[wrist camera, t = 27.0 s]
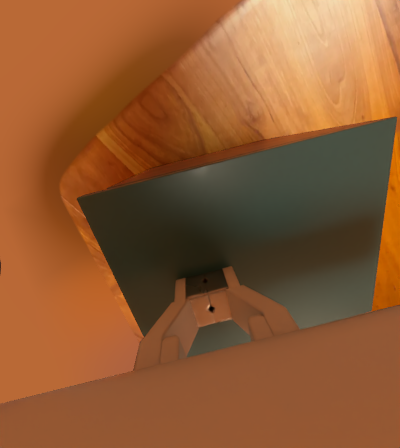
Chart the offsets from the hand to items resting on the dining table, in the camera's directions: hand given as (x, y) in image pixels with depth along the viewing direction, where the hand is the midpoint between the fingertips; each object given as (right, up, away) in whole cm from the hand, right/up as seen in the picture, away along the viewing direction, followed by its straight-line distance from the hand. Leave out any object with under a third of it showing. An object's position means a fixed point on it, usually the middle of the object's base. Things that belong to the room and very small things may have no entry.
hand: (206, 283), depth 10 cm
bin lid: (+3, +1, +1) cm, 3 cm away
